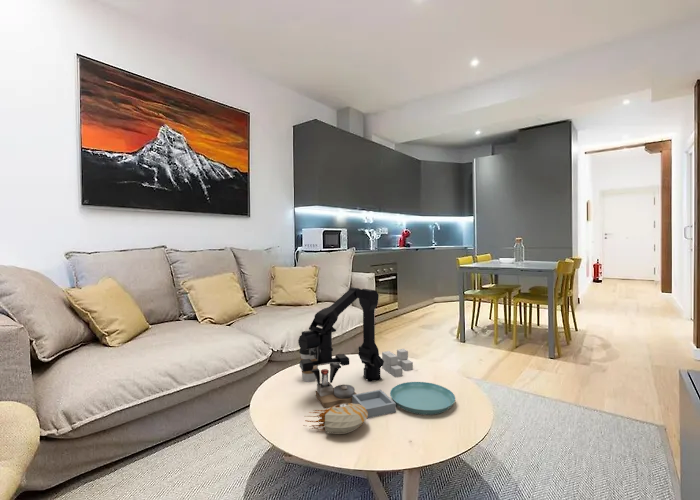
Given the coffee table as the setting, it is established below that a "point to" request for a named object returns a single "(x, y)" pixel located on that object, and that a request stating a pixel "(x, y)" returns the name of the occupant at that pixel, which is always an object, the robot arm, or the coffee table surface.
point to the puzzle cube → (396, 362)
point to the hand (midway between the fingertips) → (324, 383)
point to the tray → (375, 403)
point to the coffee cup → (307, 375)
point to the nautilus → (341, 418)
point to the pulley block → (334, 394)
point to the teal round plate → (422, 397)
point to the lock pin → (324, 377)
